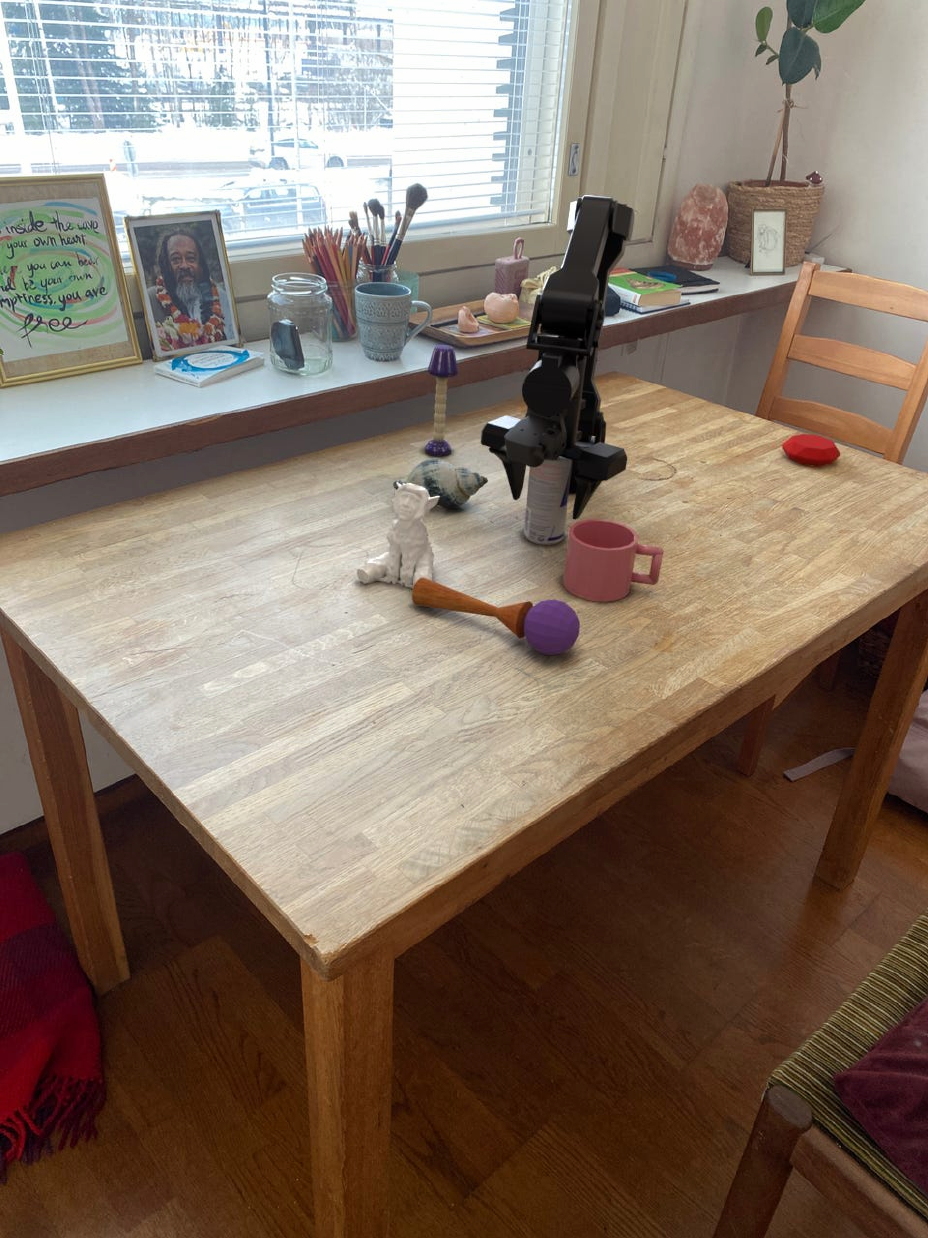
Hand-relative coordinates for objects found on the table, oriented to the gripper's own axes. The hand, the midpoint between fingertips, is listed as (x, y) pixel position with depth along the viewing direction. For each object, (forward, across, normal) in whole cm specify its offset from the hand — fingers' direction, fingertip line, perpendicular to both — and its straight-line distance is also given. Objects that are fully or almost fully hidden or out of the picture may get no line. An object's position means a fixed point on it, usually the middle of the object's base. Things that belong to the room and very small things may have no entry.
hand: (545, 508), depth 124 cm
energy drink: (+4, 0, 0) cm, 4 cm away
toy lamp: (+4, -29, +16) cm, 33 cm away
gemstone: (+3, +18, +55) cm, 58 cm away
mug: (+4, +13, -6) cm, 15 cm away
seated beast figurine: (+5, -7, -20) cm, 22 cm away
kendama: (+5, +8, -24) cm, 25 cm away
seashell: (+4, -17, 0) cm, 18 cm away
